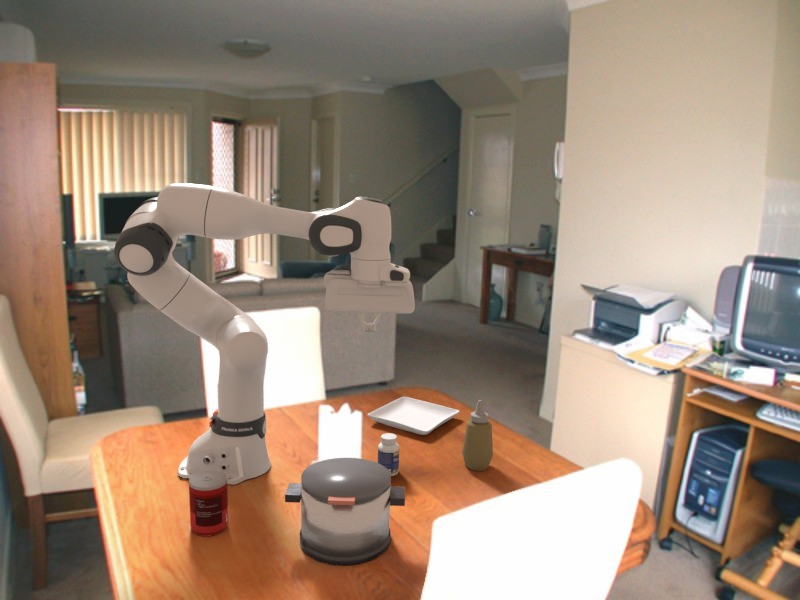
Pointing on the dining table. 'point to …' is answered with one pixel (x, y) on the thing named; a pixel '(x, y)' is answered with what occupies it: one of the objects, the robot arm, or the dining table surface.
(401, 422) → the salad plate
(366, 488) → the cooker lid
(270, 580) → the dining table surface
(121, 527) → the dining table surface
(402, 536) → the dining table surface
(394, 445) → the pill bottle
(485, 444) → the squeeze bottle
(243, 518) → the dining table surface
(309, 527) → the cooker pot
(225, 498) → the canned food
